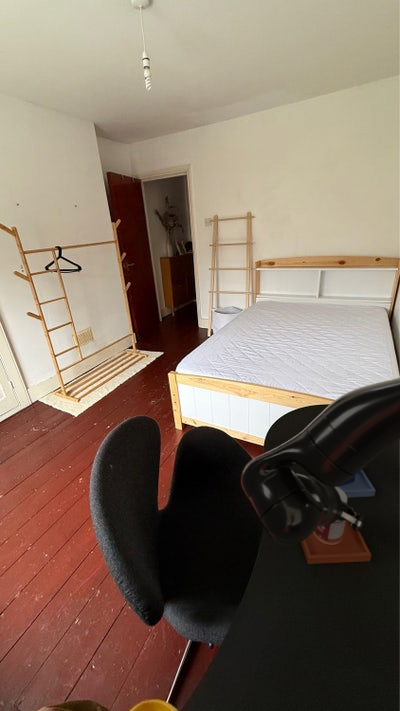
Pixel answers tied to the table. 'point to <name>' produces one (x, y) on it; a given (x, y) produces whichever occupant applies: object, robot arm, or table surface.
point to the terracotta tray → (337, 548)
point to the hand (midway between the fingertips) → (334, 503)
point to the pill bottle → (332, 527)
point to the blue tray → (359, 487)
